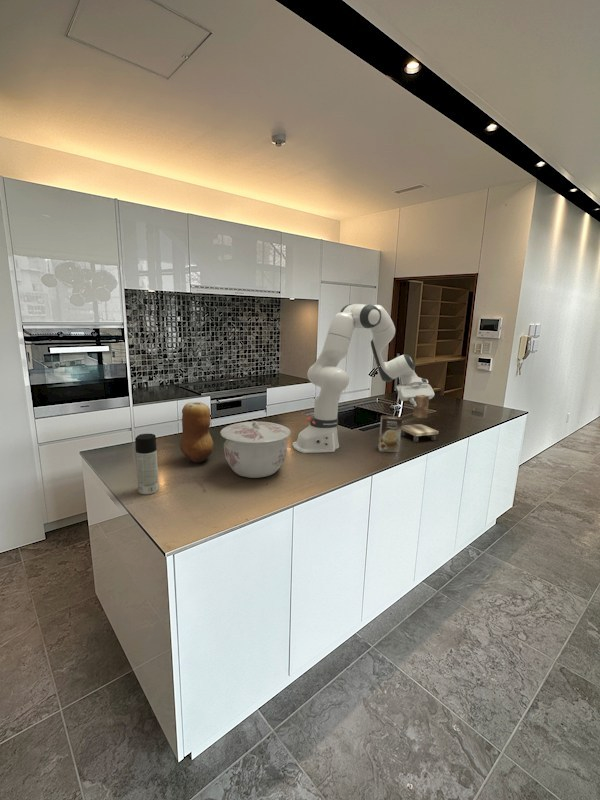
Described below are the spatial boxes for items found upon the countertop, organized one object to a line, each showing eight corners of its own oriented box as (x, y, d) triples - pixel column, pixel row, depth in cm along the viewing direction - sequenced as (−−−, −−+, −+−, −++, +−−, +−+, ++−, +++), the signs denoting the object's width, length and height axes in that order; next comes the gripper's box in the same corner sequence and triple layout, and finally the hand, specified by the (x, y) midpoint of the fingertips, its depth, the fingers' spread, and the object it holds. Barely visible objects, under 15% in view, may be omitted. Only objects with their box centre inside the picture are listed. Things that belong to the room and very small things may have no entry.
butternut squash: (220, 459, 165) (219, 402, 160) (197, 469, 154) (195, 408, 149) (196, 452, 172) (194, 398, 167) (173, 462, 161) (170, 403, 155)
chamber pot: (264, 492, 136) (265, 436, 131) (205, 475, 149) (204, 423, 144) (303, 466, 160) (304, 418, 155) (249, 454, 172) (249, 409, 168)
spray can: (161, 486, 138) (158, 433, 134) (155, 495, 131) (151, 439, 127) (142, 486, 138) (139, 432, 133) (135, 495, 131) (131, 439, 127)
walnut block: (419, 418, 197) (420, 397, 195) (412, 415, 202) (414, 395, 200) (427, 417, 199) (429, 396, 197) (420, 415, 204) (422, 394, 201)
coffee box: (379, 451, 180) (381, 418, 177) (378, 447, 186) (380, 415, 183) (399, 452, 179) (402, 419, 176) (397, 448, 186) (400, 416, 182)
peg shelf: (415, 443, 194) (416, 433, 193) (398, 434, 207) (399, 425, 206) (437, 440, 199) (438, 431, 198) (420, 432, 212) (421, 423, 211)
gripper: (397, 381, 199) (407, 403, 192) (430, 379, 206) (440, 401, 200) (392, 388, 204) (401, 410, 198) (424, 386, 211) (434, 407, 205)
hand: (421, 405), depth 199 cm, fingers closed on walnut block, 5 cm apart
